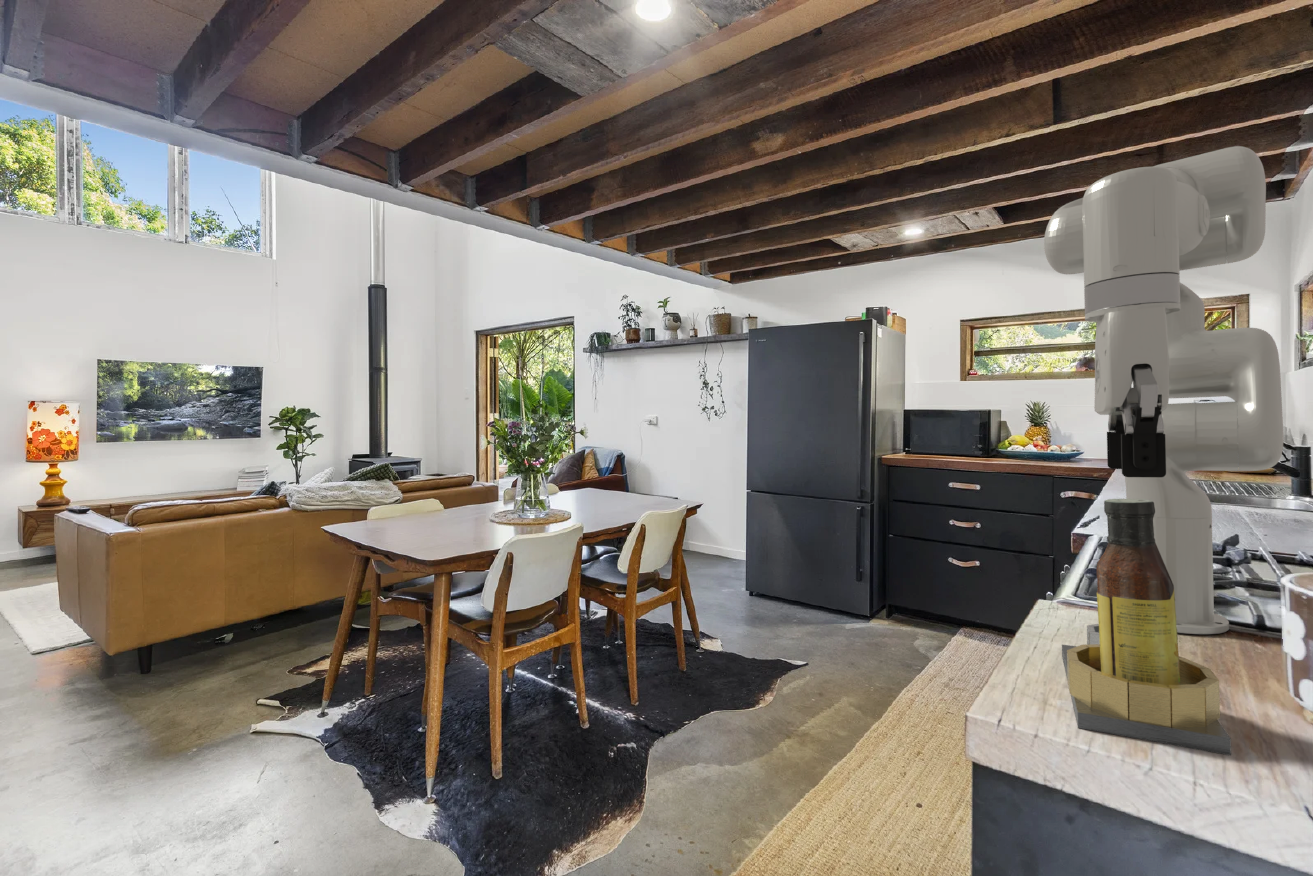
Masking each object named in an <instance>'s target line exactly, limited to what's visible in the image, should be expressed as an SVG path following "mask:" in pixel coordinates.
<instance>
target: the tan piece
mask: <svg viewBox="0 0 1313 876" xmlns="http://www.w3.org/2000/svg"><path fill="white" fill-rule="evenodd" d="M1086 640H1087V641H1086V642H1087V643H1086V644H1080V645H1069V644H1061V658H1062V662H1063V667H1064V671H1065V676H1066V681H1067V686H1068V691H1069V694H1070V698H1071V703H1072V706H1073V707H1072V708H1073V711H1074V717H1075V721H1076V724H1077V729H1082V730H1088V731H1093V732H1099V733H1106V734H1111V735H1116V736H1122V737H1128V738H1133V739H1136V740H1137V739H1138V740H1143V741H1148V742H1156V743H1159V744H1160V743H1161V744H1166V745H1170V746H1171V745H1172V746H1178V747H1181V748H1182V747H1184V748H1186V749H1187V748H1188V749H1193V750H1198V751H1199V750H1200V751H1206V752H1210V753H1216V754H1221V755H1226V756H1227V755H1228V756H1231V755H1232V745H1231V744H1232V743H1231V742H1232V739H1231V737H1230V735H1229V733H1228V732H1227V731H1226V729H1225V728H1224V726H1223V725H1222V723H1221V722H1220V721H1219V719H1221V709H1220V707H1221V704H1220V703H1221V702H1220V679H1219V678H1218V676H1216V674H1215V673H1214V671H1212V670H1211V669H1210V667H1206V666H1204V665H1202V664H1200V663H1197V662H1195V661H1193V660H1190V659H1188V658H1185V657H1182V656H1179V672H1180V685H1162V684H1155V683H1148V682H1141V681H1134V680H1128V679H1125V678H1121V677H1118V676H1114V675H1111V674H1107V673H1104V672H1101V657H1100V639H1099V623H1096V624H1094V623H1093V624H1088V625H1086Z"/></svg>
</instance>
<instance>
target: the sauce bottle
mask: <svg viewBox="0 0 1313 876" xmlns="http://www.w3.org/2000/svg"><path fill="white" fill-rule="evenodd" d="M1103 505H1104V506H1103V510H1104V513H1105V516H1106V517H1107V519H1106V520H1107V536H1106V539H1107V546H1106V547H1105V549H1104V550H1105V551H1104V552H1103V554H1102V555H1101V556H1100V558H1099V559H1098V561H1097V562H1096V569H1095V570H1096V579H1097V581H1096V582H1097V583H1096V584H1097V585H1096V586H1097V591H1096V604H1097V618H1098V621H1097V622H1098V624H1099V639H1100V657H1101V672H1104V673H1107V674H1111V675H1114V676H1118V677H1121V678H1125V679H1128V680H1134V681H1141V682H1148V683H1155V684H1162V685H1180V672H1179V641H1178V639H1179V637H1178V633H1177V625H1176V610H1175V594H1174V585H1173V583H1172V580H1171V578H1170V576H1169V573H1168V571H1167V569H1166V566H1165V564H1164V562H1163V559H1162V557H1161V555H1160V552H1159V550H1158V548H1157V545H1156V543H1155V538H1154V527H1153V517H1154V514H1155V507H1154V502H1153V501H1151V500H1146V499H1145V500H1144V499H1126V498H1109V499H1105V500H1104V501H1103Z"/></svg>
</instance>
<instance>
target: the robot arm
mask: <svg viewBox="0 0 1313 876" xmlns="http://www.w3.org/2000/svg"><path fill="white" fill-rule="evenodd" d="M1266 184H1267V181H1266V174H1265V169H1264V165H1263V163H1262V161H1261V159H1260V157H1259V156H1258V154H1257V153H1256V152H1255V151H1254V150H1252V149H1251V148H1250V147H1245V146H1242V145H1241V146H1240V145H1235V146H1229V147H1225V148H1221V149H1216V150H1213V151H1209V152H1205V153H1201V154H1197V155H1193V156H1189V157H1185V158H1180V159H1177V160H1173V161H1169V162H1165V163H1164V162H1163V163H1160V164H1157V165H1154V166H1143V167H1142V166H1141V167H1136V168H1130V169H1125V170H1121V171H1117V172H1115V173H1112V174H1109V175H1106V176H1103V177H1102V178H1100V179H1098V180H1096V181H1095V182H1094V183H1092V184H1091V185H1089V186H1088V188H1087V189H1086V190H1085V192H1084V195H1083V197H1081V198H1078V199H1074V200H1073V201H1069V202H1067V203H1065V204H1064V205H1062V206H1060V207H1059V208H1058V209H1057V210H1056V211H1054V213H1053V214H1052V215H1051V218H1050V219H1049V221H1048V223H1047V225H1046V229H1045V231H1044V236H1043V237H1044V239H1043V247H1044V248H1043V249H1044V254H1045V258H1046V260H1047V262H1048V264H1049V265H1050V267H1051V268H1052V269H1053V271H1056V272H1057V273H1059V274H1062V275H1075V274H1083V289H1084V290H1083V294H1084V298H1083V299H1084V321H1086V322H1093V323H1095V322H1096V329H1095V341H1094V342H1095V344H1094V406H1093V407H1094V412H1095V413H1097V414H1098V415H1101V416H1108V422H1107V424H1108V425H1107V429H1108V431H1106V454H1107V455H1106V456H1107V467H1108V468H1109V469H1111V470H1121V474H1122V476H1124V481H1125V496H1126V497H1125V499H1144V500H1145V499H1146V500H1151V501H1153V502H1154V507H1155V514H1154V517H1153V527H1154V538H1155V543H1156V545H1157V548H1158V550H1159V552H1160V555H1161V557H1162V559H1163V562H1164V564H1165V566H1166V569H1167V571H1168V573H1169V576H1170V578H1171V580H1172V583H1173V585H1174V594H1175V610H1176V625H1177V634H1187V635H1188V634H1189V635H1190V634H1191V635H1217V634H1223V633H1226V632H1227V631H1229V629H1230V621H1229V620H1228V619H1227V618H1226V617H1224V616H1222V615H1220V614H1217V613H1214V612H1215V611H1214V609H1215V608H1214V604H1215V603H1214V602H1215V601H1214V558H1213V557H1214V555H1213V552H1214V551H1213V550H1214V547H1213V511H1212V509H1213V507H1212V504H1211V503H1212V502H1211V500H1210V498H1209V496H1208V495H1207V494H1206V492H1205V491H1204V490H1203V489H1202V488H1201V487H1200V486H1199V485H1197V484H1196V483H1195V482H1194V481H1193V480H1191V478H1189V477H1188V475H1187V474H1186V473H1187V472H1193V471H1194V472H1197V471H1217V472H1219V471H1220V472H1221V471H1222V472H1225V471H1228V472H1239V471H1240V472H1253V471H1254V472H1255V471H1258V472H1259V471H1265V470H1269V469H1271V468H1272V467H1275V466H1276V465H1277V464H1278V463H1279V461H1280V460H1281V458H1282V454H1283V450H1284V422H1283V419H1284V418H1283V402H1282V400H1283V399H1282V381H1281V365H1280V364H1281V363H1280V354H1279V350H1278V347H1277V343H1276V341H1275V339H1274V338H1273V336H1272V335H1271V334H1270V333H1269V332H1267V331H1266V330H1264V329H1262V328H1257V327H1235V328H1226V329H1225V328H1223V329H1215V330H1212V329H1211V330H1206V328H1205V326H1206V325H1205V323H1206V320H1205V318H1206V317H1205V315H1206V314H1205V312H1206V311H1205V310H1206V308H1205V303H1204V301H1203V300H1202V298H1201V297H1200V296H1199V295H1198V294H1197V293H1195V291H1193V290H1192V289H1190V287H1188V286H1186V285H1185V284H1183V283H1181V281H1180V280H1181V279H1180V271H1184V270H1185V271H1187V270H1194V269H1197V268H1199V269H1201V268H1207V267H1213V266H1217V265H1219V266H1220V265H1225V264H1233V263H1237V262H1242V261H1245V260H1247V259H1249V258H1251V257H1253V256H1254V255H1255V254H1257V253H1258V251H1260V249H1261V248H1262V245H1263V243H1264V240H1265V235H1266V215H1267V213H1266V205H1267V204H1266V199H1267V185H1266ZM1132 386H1133V387H1132ZM1215 397H1216V398H1217V397H1218V398H1219V397H1220V398H1221V397H1228V398H1230V399H1231V400H1233V401H1217V402H1216V401H1215V402H1212V401H1211V402H1183V403H1182V402H1179V403H1169V400H1170V399H1191V398H1193V399H1194V398H1195V399H1197V398H1215Z"/></svg>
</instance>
